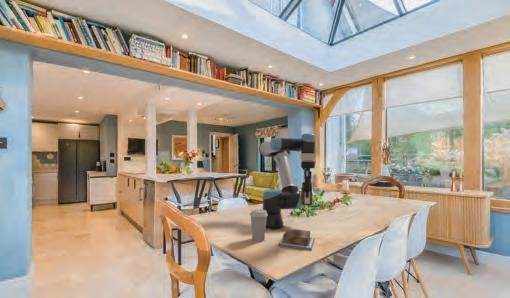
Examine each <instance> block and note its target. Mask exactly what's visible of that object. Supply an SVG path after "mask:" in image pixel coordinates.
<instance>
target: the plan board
mask: <svg viewBox="0 0 510 298" xmlns="http://www.w3.org/2000/svg"><path fill="white" fill-rule="evenodd" d="M314 243H315V237H311V236H310V241H309V244H308V246H302V245H294V244H287V243H283V237H282V238H281V240H279V242H278V244H277V245H278V247H283V248H285V247H286V248H290V249H291V248H292V249H297V250H298V249H299V250H304V251H305V250H306V251H312V250H313V246H314Z"/></svg>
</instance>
